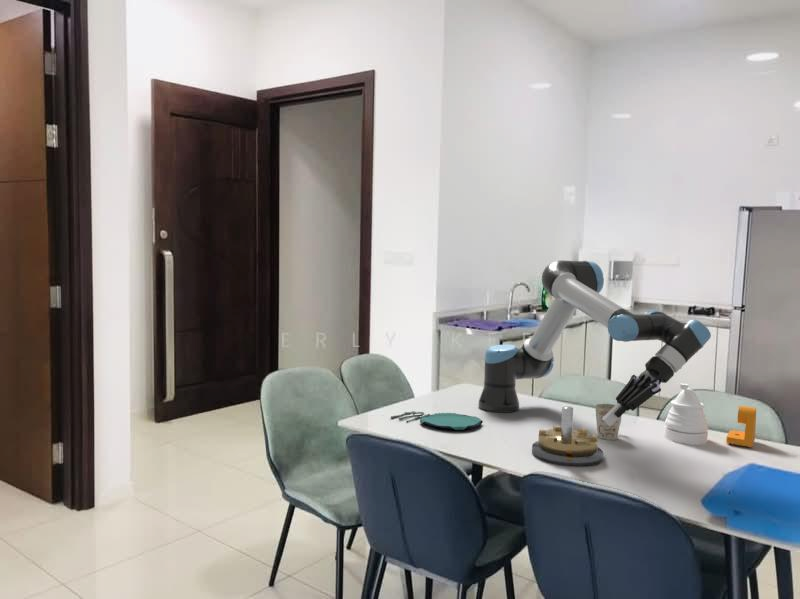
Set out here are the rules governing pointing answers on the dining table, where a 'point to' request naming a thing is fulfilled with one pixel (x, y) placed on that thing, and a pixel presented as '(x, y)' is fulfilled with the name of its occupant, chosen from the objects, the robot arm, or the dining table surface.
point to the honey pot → (686, 419)
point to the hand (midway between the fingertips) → (605, 422)
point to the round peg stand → (567, 438)
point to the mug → (602, 427)
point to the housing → (567, 457)
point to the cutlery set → (444, 420)
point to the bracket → (745, 438)
